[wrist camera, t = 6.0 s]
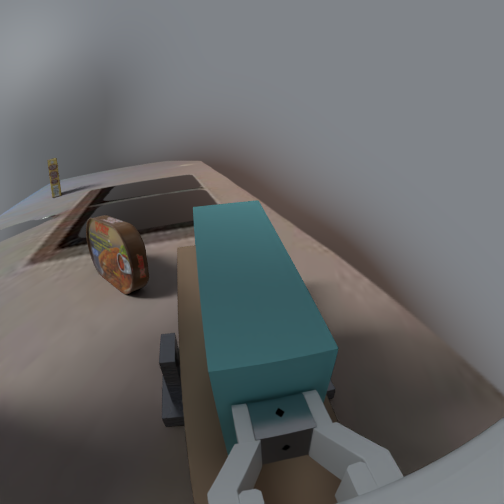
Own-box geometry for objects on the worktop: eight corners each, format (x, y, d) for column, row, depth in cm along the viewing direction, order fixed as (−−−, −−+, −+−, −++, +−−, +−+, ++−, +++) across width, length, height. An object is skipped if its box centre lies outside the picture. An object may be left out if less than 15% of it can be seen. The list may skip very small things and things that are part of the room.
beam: (204, 550, 10) (197, 548, 9) (178, 264, 31) (175, 247, 30) (366, 513, 11) (378, 506, 10) (259, 254, 33) (259, 237, 32)
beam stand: (165, 426, 19) (146, 380, 17) (168, 306, 33) (160, 265, 31) (333, 397, 20) (342, 349, 19) (277, 291, 35) (276, 251, 33)
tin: (91, 268, 43) (79, 214, 40) (109, 261, 45) (98, 208, 42) (136, 305, 33) (120, 234, 30) (159, 294, 36) (146, 225, 32)
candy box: (62, 195, 106) (56, 157, 100) (52, 198, 103) (46, 160, 97) (61, 192, 112) (56, 157, 106) (52, 195, 110) (47, 159, 104)
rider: (230, 462, 13) (208, 371, 9) (206, 308, 23) (193, 207, 19) (308, 447, 13) (338, 348, 9) (259, 301, 23) (258, 200, 19)
